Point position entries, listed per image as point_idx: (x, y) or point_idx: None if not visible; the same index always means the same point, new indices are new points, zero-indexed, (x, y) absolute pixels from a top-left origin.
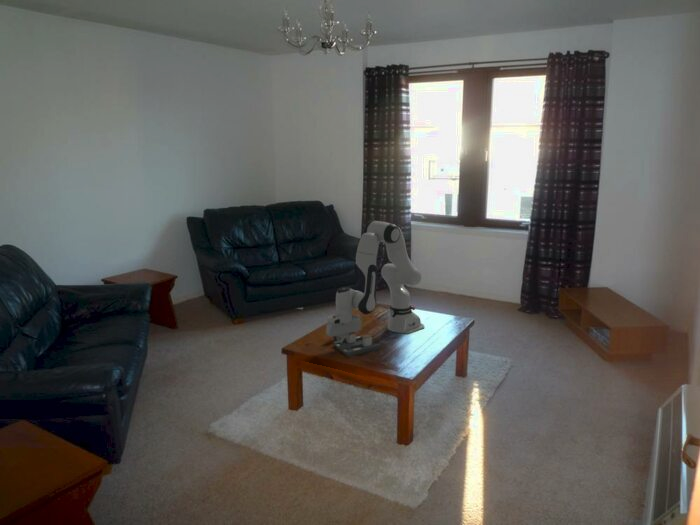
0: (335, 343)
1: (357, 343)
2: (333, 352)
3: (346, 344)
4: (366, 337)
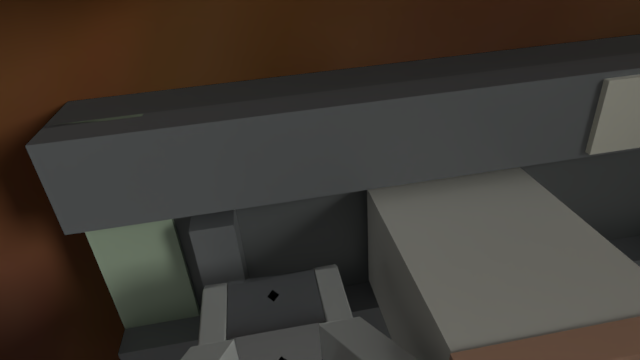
0: (66, 222)
1: None
2: (13, 343)
3: None
4: None
